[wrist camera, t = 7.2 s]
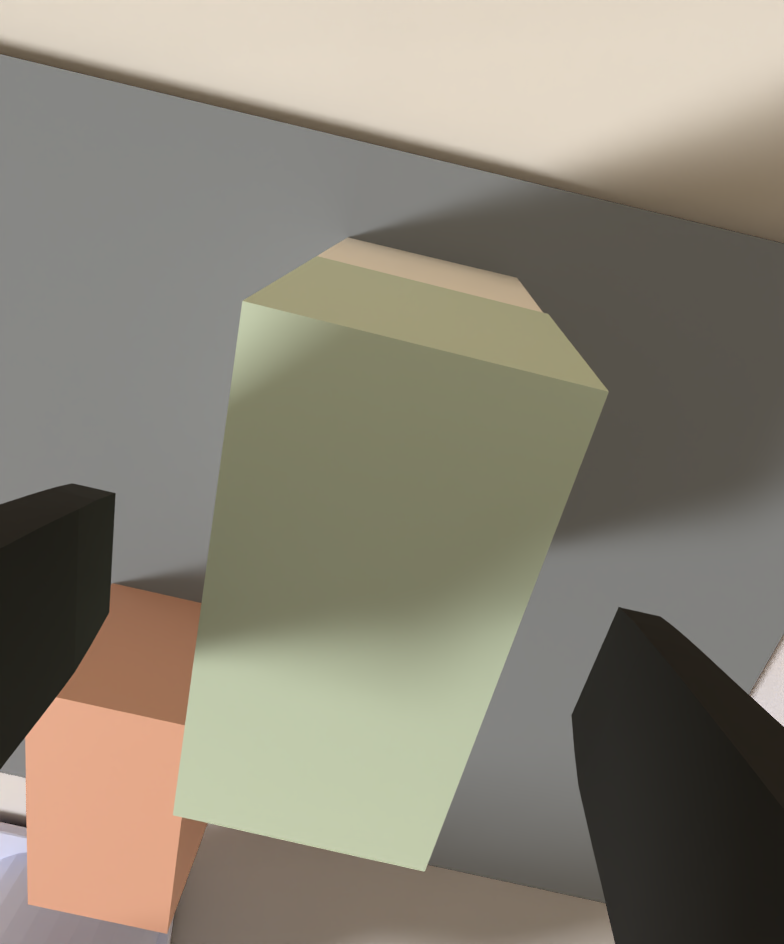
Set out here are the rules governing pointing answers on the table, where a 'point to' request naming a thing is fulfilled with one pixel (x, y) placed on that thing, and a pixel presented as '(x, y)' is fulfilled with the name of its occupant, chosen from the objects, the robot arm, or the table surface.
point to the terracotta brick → (116, 770)
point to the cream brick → (432, 271)
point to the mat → (434, 235)
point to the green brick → (372, 552)
